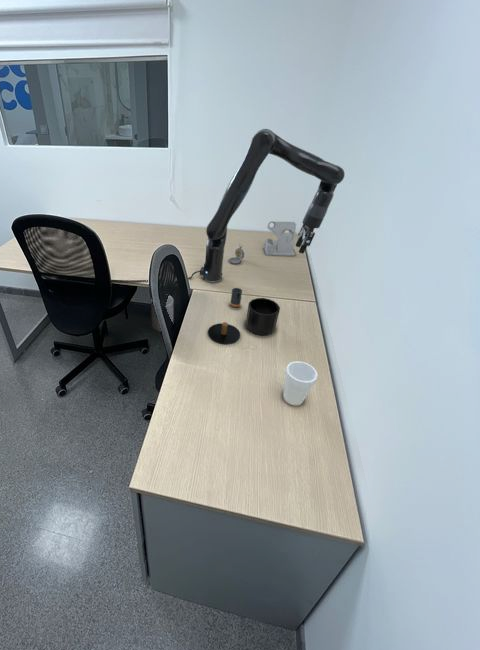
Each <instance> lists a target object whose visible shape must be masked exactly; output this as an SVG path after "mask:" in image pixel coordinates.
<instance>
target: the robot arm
mask: <svg viewBox="0 0 480 650" xmlns="http://www.w3.org/2000/svg"><path fill="white" fill-rule="evenodd" d="M268 155H272V156H275V157H278V158H280V159H281V160H283V161H284V162H286V163H288V164H289V165H291V166H292V167H293V168H295V169H297V170H299V171H300V172H302V173H305V174H307V175H310V176H311V177H312V176H313V177H315V178H317V179H318V180H320V182H319V184H318V188H317V191H316V192H315V194H314V197H313V199H312V201H311V203H310V205H309V206H308V209H307V211H306V213H305V215H304V217H303V219H302V221H301V223H302V225H301V228H300V230H299V232H298V234H297V237H298V239H297V240H296V243H295V247H297V248H299V250H298V253H299V254H303V255H304V254H305V252H306V250H307V248H308V247H310V246H311V244H312V241H313V240H314V237H315V235H316V232H314V230H315V229H320V227H321V225H322V224H323V221H324V220H325V217H326V216H327V213H328V209H329V207H330V205H331V203H332V201H333V199H334V196H335V195H334V193H335V191H336V189H337V186H338V185H339V184H340V183H341V182H343V180H344V178H345V170H344V168H343V167H341V166H339V165H337V164H334V163H332V162H329V161H326V160H324V159H323V158H321V157H320V156H319V155H316V154H314V153H311V152H309V151H307V150H305V149H303V148H301V147H298V146H296V145H294V144H292V143H290V142H288V141H286V140H285V139H283V138H282V137H281V136H279V135H277V134H276V133H275V132H273V130H272V129H269V128H262V129H260V130H258V131H257V132H256V133H255V134H254V135H253V137H252V138H251V142H250V143H249V146H248V148H247V151H246V154H245V156H244V159H243V160H242V162H241V164H240V165H239V167H238V168H237V170H236V171H235V173H234V175H233V176H232V178H231V179H230V181H229V183H228V185H227V187H226V189H225V191H224V194H223V196H222V198H221V199H220V200H221V201H220V203H219V205H218V208H217V210H216V212H215V214H214V215H213V217H212V219H211V220H210V221H209V222H208V224H207V225H206V229H205V233H206V236H207V241H206V245H205V259H204V263H203V266H201V267H200V270H197V271H195V272H193V273H192V274H191V276H189V277H187V278H188V279H187V280H190V279H192V278H193V277H194V275H196V274H197V273H199V276H202V280H204V281H206V282H208V283H219V282H220V281H221V280H222V276H223V265H224V255H225V246H226V241H227V235H228V234H227V233H228V225H229V222H230V221H231V219H232V218H233V216H234V214H235V213H236V211H237V210H238V209H239V208H240V206H241V204H242V203H243V202H244V200H245V198H246V196H247V194H248V193H249V192H250V189H251V187H252V185H253V183H254V181H255V178H256V175H257V172H259V169H260V168H261V165H262V164H263V163H264V161H265V160H266V159H267V157H268ZM111 280H112V281H111V282H123V283H124V282H125V283H127V282H128V283H137V282H139V283H140V282H141V283H142V282H149V281H148V280H149V279H140V280H139V279H137V280H136V279H135V280H133V279H131V280H130V279H129V280H126V279H111ZM146 280H147V281H146Z"/></svg>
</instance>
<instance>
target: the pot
mask: <svg viewBox="0 0 480 650" xmlns="http://www.w3.org/2000/svg"><path fill="white" fill-rule="evenodd" d="M280 311H281V307H280V305H279V304H278V303H277V302H276V301H274V300H272V299H271V298H265V297H257V298H253V299H251V300H249V302H248V306H247V312H246V317H245V323H244V327H245V330H246V331H248V332H249V333H250V334H252V335H255V336H257V337H258V336H260V337H267V336H271V335H273V334H274V333H275V331H276V327H277V323H278V320H279V315H280Z"/></svg>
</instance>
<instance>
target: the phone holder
mask: <svg viewBox="0 0 480 650" xmlns="http://www.w3.org/2000/svg"><path fill="white" fill-rule="evenodd" d="M270 224H273V225H272V227H271V226H270ZM267 229H268V230H269V231H270V232H272V234H274V235H275V236H277V245H276V243H275V240H274V239H272V238H267V239H265V243H264V249H263V250H264V252H265V255H267V256H288V257H294V256H295V255H296V253H295V251H294V244H295V239H296V237H295V236H296V229H297V223H296V222H295V221H278V220H277V221H273V220H272V221H269V222H268V223H267ZM286 231H288V233H287V234H285V232H286Z"/></svg>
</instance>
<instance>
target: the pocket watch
mask: <svg viewBox="0 0 480 650" xmlns="http://www.w3.org/2000/svg"><path fill="white" fill-rule="evenodd" d="M242 248H243V245H242V244H239V247H238V248H236V249H235V251H234V253H235V257H232V258H229V259H228V262H229V263H230V264H232V265H239V264H240V263H241V260H243V259H244V258H245V251H244V250H243V249H242Z"/></svg>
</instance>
